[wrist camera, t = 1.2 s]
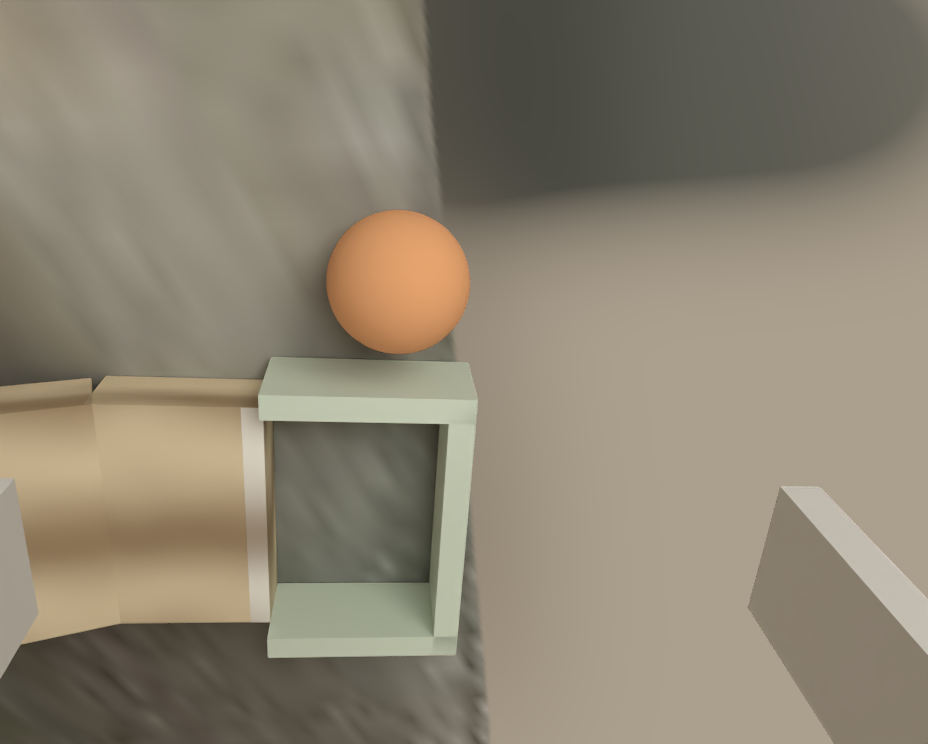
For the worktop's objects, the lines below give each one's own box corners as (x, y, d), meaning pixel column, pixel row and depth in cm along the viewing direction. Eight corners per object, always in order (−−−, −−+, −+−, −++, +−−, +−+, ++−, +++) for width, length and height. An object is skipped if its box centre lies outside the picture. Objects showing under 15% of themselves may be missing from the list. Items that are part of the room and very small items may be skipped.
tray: (270, 356, 31) (258, 395, 27) (468, 362, 32) (478, 400, 28) (278, 601, 35) (267, 657, 32) (449, 599, 36) (455, 654, 33)
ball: (330, 193, 28) (321, 225, 24) (467, 200, 29) (483, 232, 24) (330, 322, 30) (321, 375, 26) (458, 326, 31) (471, 378, 26)
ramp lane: (-116, 370, 29) (-207, 433, 25) (271, 380, 31) (252, 440, 26) (-64, 584, 33) (-134, 672, 29) (277, 583, 35) (261, 666, 30)
